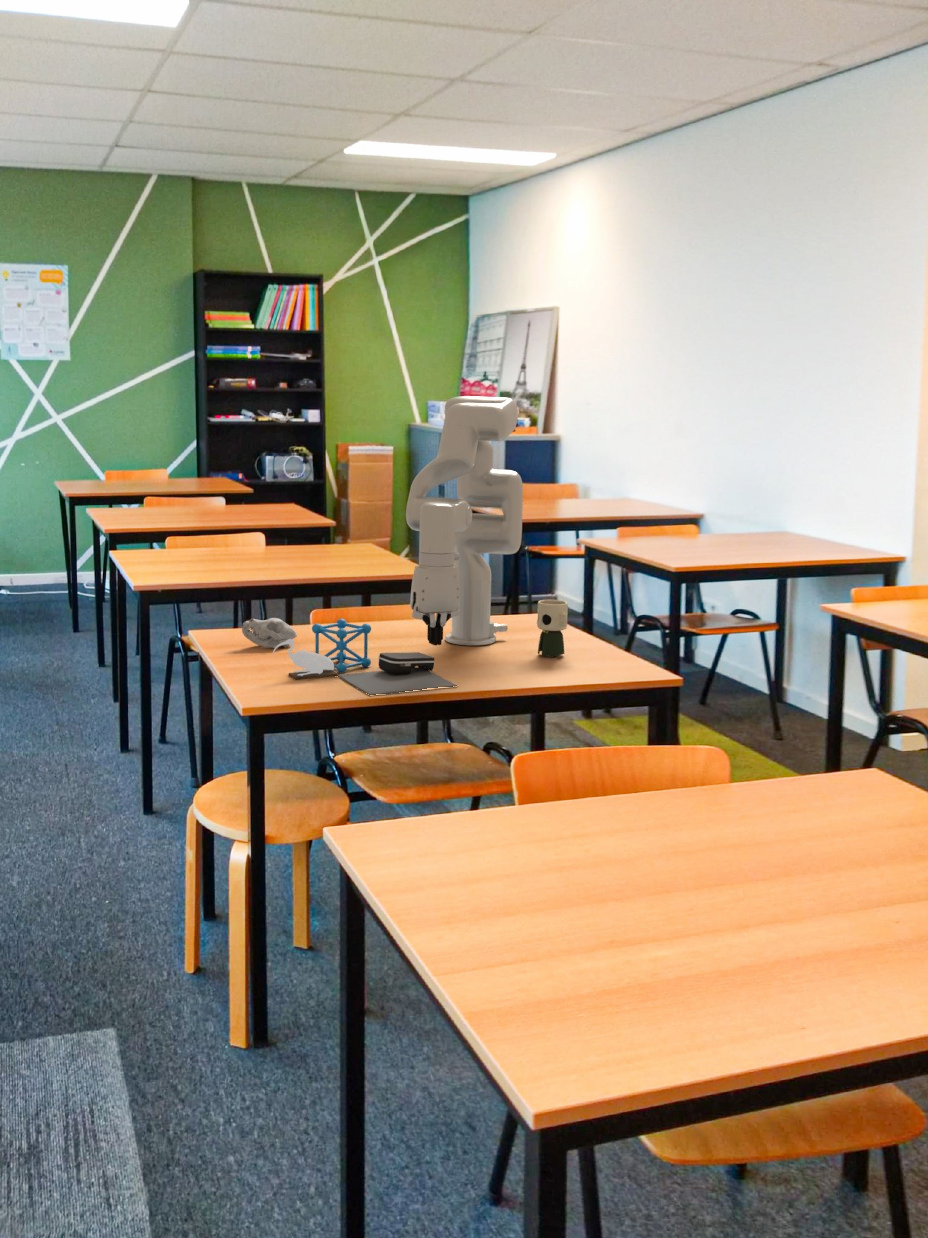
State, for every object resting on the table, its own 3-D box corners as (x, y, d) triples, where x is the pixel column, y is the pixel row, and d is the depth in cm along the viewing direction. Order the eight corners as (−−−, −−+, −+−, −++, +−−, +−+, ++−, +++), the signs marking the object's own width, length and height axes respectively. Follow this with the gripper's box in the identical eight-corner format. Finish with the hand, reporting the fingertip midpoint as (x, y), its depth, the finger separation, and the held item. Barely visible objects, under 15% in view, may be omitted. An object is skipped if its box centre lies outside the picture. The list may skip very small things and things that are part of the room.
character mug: (525, 652, 299) (527, 599, 296) (549, 650, 302) (551, 597, 300) (552, 662, 290) (554, 607, 287) (576, 659, 293) (579, 604, 291)
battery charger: (417, 668, 282) (374, 669, 275) (419, 651, 281) (376, 652, 275) (434, 674, 276) (391, 676, 270) (436, 657, 276) (393, 658, 269)
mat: (420, 668, 281) (420, 666, 281) (457, 687, 265) (457, 685, 265) (337, 676, 272) (337, 674, 272) (370, 696, 256) (370, 694, 256)
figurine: (276, 682, 266) (275, 642, 264) (269, 678, 270) (269, 638, 268) (338, 677, 272) (338, 637, 270) (331, 672, 276) (330, 634, 274)
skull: (302, 637, 298) (266, 606, 292) (277, 665, 297) (240, 634, 292) (295, 629, 305) (259, 598, 300) (270, 656, 304) (234, 625, 299)
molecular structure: (309, 667, 280) (309, 623, 278) (341, 660, 287) (341, 617, 286) (341, 674, 274) (341, 630, 272) (373, 667, 281) (373, 623, 279)
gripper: (459, 556, 274) (458, 638, 278) (397, 559, 267) (396, 643, 271) (475, 560, 267) (473, 644, 271) (412, 564, 261) (411, 650, 264)
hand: (435, 643), depth 271 cm, fingers closed
